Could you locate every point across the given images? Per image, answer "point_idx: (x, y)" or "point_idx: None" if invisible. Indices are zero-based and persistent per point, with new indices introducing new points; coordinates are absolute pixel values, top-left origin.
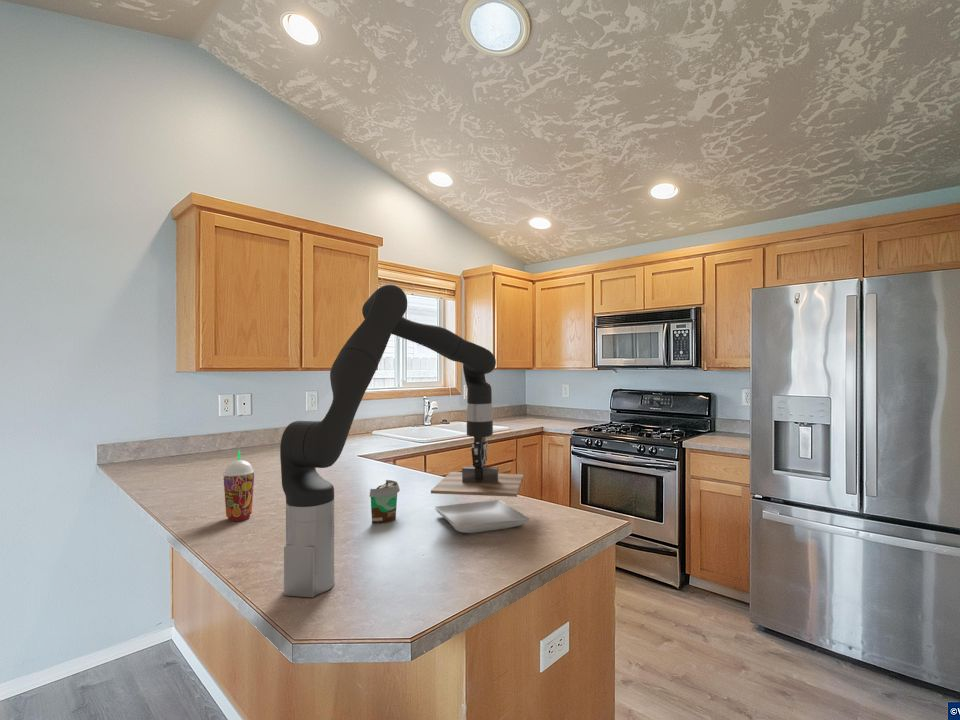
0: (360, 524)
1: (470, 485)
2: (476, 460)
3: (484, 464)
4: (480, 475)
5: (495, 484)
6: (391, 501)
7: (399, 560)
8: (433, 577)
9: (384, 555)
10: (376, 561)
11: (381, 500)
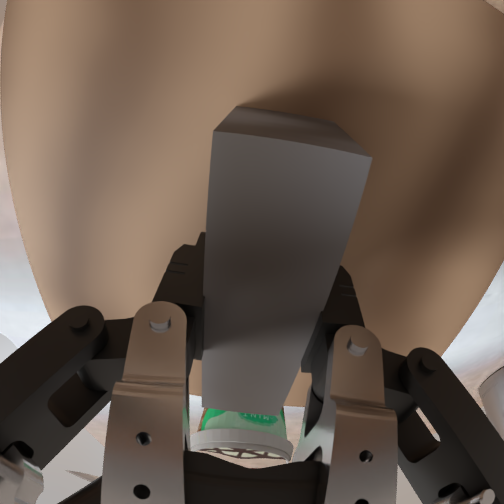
0: (284, 407)
1: (362, 302)
2: (309, 427)
3: (179, 312)
4: (353, 291)
5: (364, 136)
6: (268, 418)
7: (489, 324)
8: None
9: (460, 348)
10: (475, 350)
11: (284, 433)
